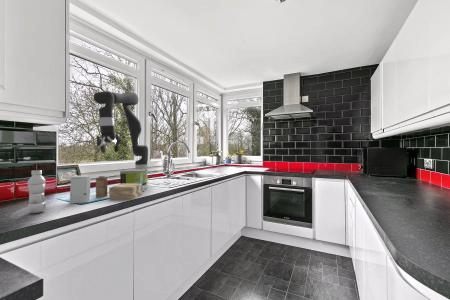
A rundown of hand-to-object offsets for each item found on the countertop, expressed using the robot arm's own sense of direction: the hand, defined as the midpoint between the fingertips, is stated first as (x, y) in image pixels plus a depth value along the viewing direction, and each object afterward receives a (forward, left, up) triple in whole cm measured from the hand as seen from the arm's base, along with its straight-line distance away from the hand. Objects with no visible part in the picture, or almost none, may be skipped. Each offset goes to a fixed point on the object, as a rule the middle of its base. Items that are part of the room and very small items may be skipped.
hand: (110, 152), depth 123 cm
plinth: (-5, +8, -28) cm, 30 cm away
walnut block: (-5, -8, -28) cm, 30 cm away
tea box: (-25, +3, -28) cm, 38 cm away
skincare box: (+8, -12, -28) cm, 32 cm away
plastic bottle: (+28, -18, -28) cm, 44 cm away
